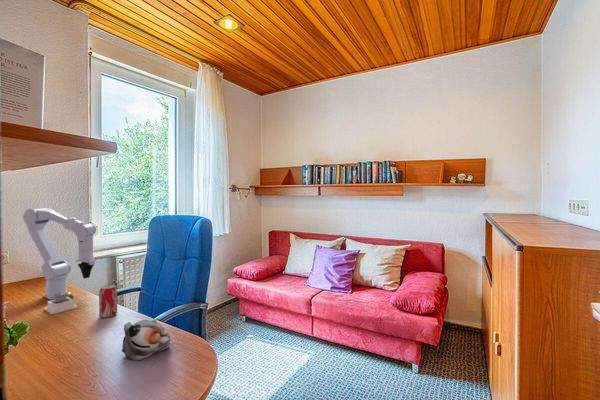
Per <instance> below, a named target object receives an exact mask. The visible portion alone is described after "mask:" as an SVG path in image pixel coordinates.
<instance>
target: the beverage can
mask: <svg viewBox="0 0 600 400" xmlns="http://www.w3.org/2000/svg"><path fill="white" fill-rule="evenodd" d="M98 305H99V307H98V310H99V311H98V314H99V317H101V318H103V319H105V318H108V319H109V318H111V317H114V316H115V315H116V314H118V289H117V287H116V285H115V284H107V285H106V284H105V285H103V286H101V287H100V289H99V291H98Z"/></svg>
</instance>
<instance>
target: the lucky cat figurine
mask: <svg viewBox="0 0 600 400" xmlns="http://www.w3.org/2000/svg"><path fill="white" fill-rule="evenodd" d="M123 327H124V328H123V331H124V337H123V339H122V349H121V352H122V353H123V354H124V355H125V359H128V360H132V361H135V360H140V361H141V360H143V359H145V358H149V357H151V356H152V355H154V354H156V352H157V353H159V352H161V350H162V351H165V350H166V348H167V349H169V348H170V346H171V344H170V343H171V334H170V333H169V332H165V327H164V325H162V324H160V323H159V322H157V321H156V320H155V319H153V320H149V319H142V320H138V321H136V322H135V323H134V324H132V323H131V322H130V321H129V322H126V323H125V324H124V326H123ZM169 345H170V346H169ZM168 347H169V348H168ZM164 349H165V350H164ZM158 351H159V352H158ZM153 353H154V354H153Z"/></svg>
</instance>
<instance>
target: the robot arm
mask: <svg viewBox="0 0 600 400" xmlns="http://www.w3.org/2000/svg"><path fill="white" fill-rule="evenodd" d="M22 219H23V220H24V222H25V225H26V228H27V231H28V233H29V235H30V237H31V238H32V241H33V243H34V244H35V247H36V249H37V251H38V252H39V254H40V256H41V257H42V260H43V262H44V263H43V264H42V265H41V270H42V275H43V278H44V279H45V280H46V281H45V294H43V297H44V298H45V299H48V300H49V301H52V300H55V294H58V293H66V292H68V289H67V287H68V284H67V281H68V280H67V279H68V275H69V274H70V272H71V265H70V263H69V262H67V261H66V259H65V258H63V257H60V256H59V255H58V253H57V251H56V249H55V247H54V246H53V244H52V242H51V240H50V239H49V236H48V234H47V233H46V230H45V227H46V226H47V225H48V224H49V222H50V221H53V222H55V223H57V224H60V225H63V226H62V227H63V228H64V229H65V230H68V231H70V232H72V233H73V234H75V236H76V237H77V238H76V239H77V241H78V257H77V259H75V262H76V263H77V266H78V268H79V269H80V272H81V274H82V278H83V279H89V278H90V276H91V273H92V270H93V267H94V266H95V264H96V260H95V258H94V236H95V235H96V232H97V231H96V230H97V227H96V226H95V225H94V224H92V223H85V221H81V220H78V219H77V218H76V217H66V216H64V215H62V214H60V213H58V212H57V211H55V209H52V208H50V207H41V208H27V209H26V210H25V211H24V213H23V215H22ZM79 262H80V263H79Z"/></svg>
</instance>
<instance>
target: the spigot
mask: <svg viewBox="0 0 600 400" xmlns="http://www.w3.org/2000/svg"><path fill="white" fill-rule="evenodd" d="M54 300H55V304H58V303H62V302H66V293H58V294H55V299H54Z"/></svg>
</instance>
